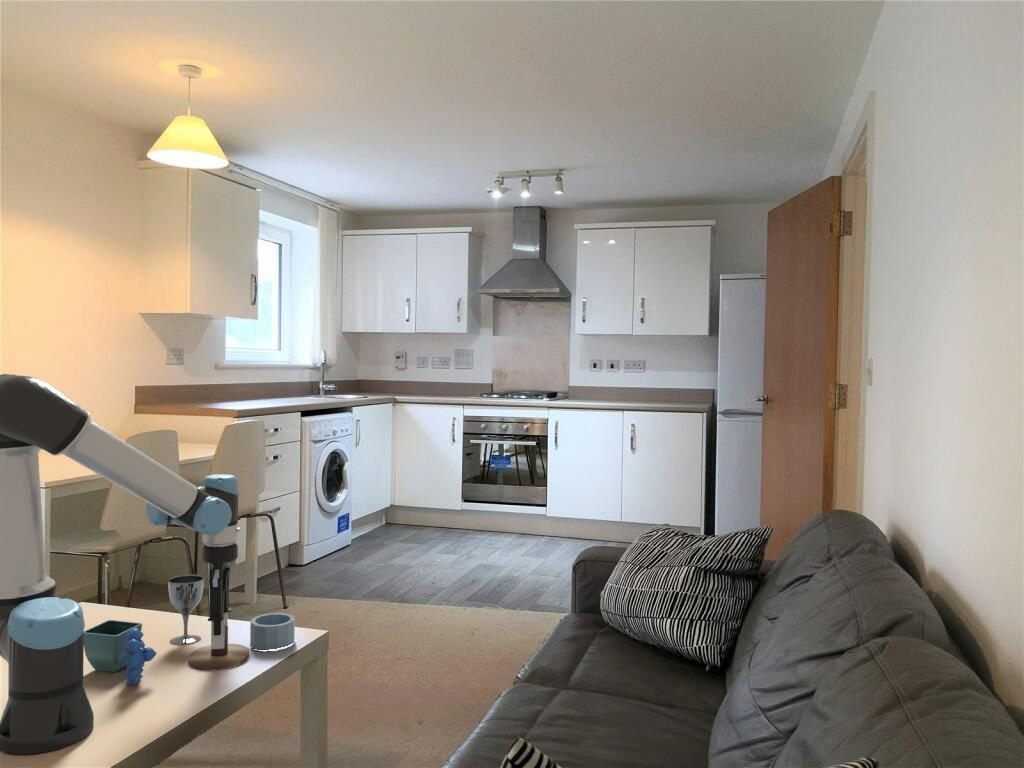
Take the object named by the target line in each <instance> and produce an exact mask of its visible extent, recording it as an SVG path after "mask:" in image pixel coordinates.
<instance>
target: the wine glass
mask: <svg viewBox="0 0 1024 768" xmlns="http://www.w3.org/2000/svg"><path fill="white" fill-rule="evenodd" d="M204 580H205V578H204V576H203V575H200V574H181V575H176V576H175V575H174V576H173V577H169V579H168V585H167V586H168V596H169V601H170V603H171V605H172V606H173V607H174V608H175V609H176V610H177V611H178V612H179V614H180V615H181V616H182V621H183V634H182V635H180V636H176V637H173V638H171V639H170V641H169V643H170V645H172V646H173V645H174V646H187V645H194V644H195V643H198V642H201V640H202V637H201V636H199V635H197V634H188V626H189V618H190V615H191V613H192V612H193V611H194V609H195V608H196V607H197V606H198V605H199V603H200V602H201V599H202V597H203V594H204V593H203V592H204V583H205V581H204Z"/></svg>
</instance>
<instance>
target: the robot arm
mask: <svg viewBox="0 0 1024 768" xmlns="http://www.w3.org/2000/svg"><path fill="white" fill-rule="evenodd" d="M41 450H44V451H45V452H47V453H48V454H50V455H52V456H60V455H64V456H65V457H67V458H69V459H71V460H73V461H74V462H76V463H78V464H79V465H81V466H83V467H84V468H86V469H88V470H90V471H92V472H93V473H95V474H97V475H98V476H100V477H102V478H104V479H105V480H107V481H109V482H111V483H112V484H114V485H116V486H118V487H120V489H122V490H124V491H126V492H127V493H128V492H129V493H130V494H131V495H133V496H134V497H136V498H138V499H140V500H142V501H143V502H146V511H145V512H146V515H147V520H148V521H149V523H150V524H151V525H153V526H156V527H157V526H165V527H166V526H169V525H177V526H179V527H183V528H186V529H189V530H192V531H194V532H198V533H199V534H201V535H202V537H201V538H202V543H203V545H202V561H203V562H204V563H207V564H212V567H211V569H210V570H209V580H208V582H209V585H208V586H209V617H208V618H207V622H210V623H211V625H210V628H211V630H210V645H211V649H224V632H225V625H226V626H228V627H229V625H228V624H229V623H228V617H229V616H228V615H229V614H228V613H231V612H232V607H230V574H231V564H229V563H232V562H234V561H236V560H237V559H238V558H239V557H238V554H239V552H238V551H239V549H238V546H239V545H238V542H237V540H238V535H239V533H240V532H241V528H240V527H238V521H239V519H238V518H239V496H240V493H239V483H238V478H237V477H236V476H235V475H232V474H222V473H221V474H220V473H219V474H210V475H206V476H204V477H203V480H202V484H201V485H199V486H196V485H195V484H193V483H191V482H190V481H188V480H187V479H185V478H184V477H182V476H180V475H179V474H177V473H176V472H174V471H172V470H171V469H169V468H168V467H166V466H164V465H163V464H162V463H159V462H158V461H156V460H155V459H153V458H152V457H150V456H149V455H147V454H145V453H144V452H143V451H141V450H139V449H137V448H136V447H134V446H133V445H131V444H129V443H128V442H126V441H125V440H123V439H122V438H120V437H119V436H117V435H115V434H113V433H112V432H111V431H108V430H107V429H106V428H104V427H102V426H101V425H100V424H97V423H96V422H94V421H92V419H91V415H90V412H89V411H88V410H86V409H85V408H83V407H81V406H80V405H79V404H77V403H75V402H74V401H73V400H71V399H70V398H69V397H67V395H66V396H65V395H64V394H63V393H62V392H60V391H59V390H57V389H56V388H55V387H53V386H52V385H50V384H49V383H47V382H46V381H44V380H41V379H39V378H37V377H33V376H30V375H17V374H9V373H3V374H0V657H1V658H2V659H4V660H5V661H6V662H7V664H8V669H7V670H8V678H7V679H8V681H7V682H8V685H7V687H8V690H7V692H8V698H7V702H6V704H5V707H4V709H3V712H2V715H1V718H0V751H1V752H3V753H7V754H10V755H35V754H41V753H46V752H51V751H52V752H53V751H55V750H56V751H57V750H59V749H63V748H65V747H68V746H71V745H73V744H75V743H78V742H79V741H81V740H82V739H84V738H86V737H87V736H88V735H90V734H91V732H92V731H93V729H94V724H95V723H94V720H95V719H94V718H95V717H94V712H93V711H94V710H93V708H92V706H91V704H90V701H89V698H88V694H87V693H86V690H85V688H84V654H85V650H84V631H85V627H86V623H85V622H86V621H85V617H84V610H83V608H82V606H81V605H80V603H79V602H77V601H75V600H73V599H70V598H66V597H65V598H61V597H57V589H56V581H55V579H53V578H51V577H50V576H48V575H47V572H46V556H45V543H44V542H45V539H44V529H43V528H44V524H43V509H42V507H43V506H42V495H41V494H42V492H41V479H40V478H41V475H40V459H39V452H40V451H41ZM228 607H229V608H228Z"/></svg>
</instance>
